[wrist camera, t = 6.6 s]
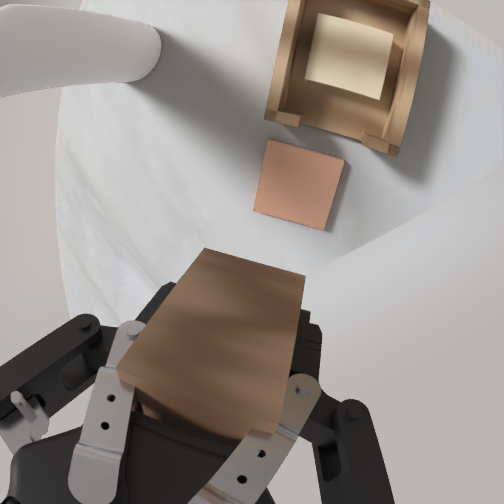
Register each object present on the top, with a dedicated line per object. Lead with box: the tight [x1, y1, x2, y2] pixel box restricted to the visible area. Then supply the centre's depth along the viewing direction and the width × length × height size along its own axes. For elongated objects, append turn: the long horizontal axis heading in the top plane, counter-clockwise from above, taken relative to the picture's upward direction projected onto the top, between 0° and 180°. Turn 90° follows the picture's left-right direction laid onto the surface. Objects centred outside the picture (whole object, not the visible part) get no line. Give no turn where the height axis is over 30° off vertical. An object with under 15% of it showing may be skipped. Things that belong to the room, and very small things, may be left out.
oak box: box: [264, 0, 430, 157], centre depth 21 cm, size 16×12×5 cm
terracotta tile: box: [253, 139, 344, 230], centre depth 31 cm, size 8×8×1 cm
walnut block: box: [116, 248, 306, 448], centre depth 11 cm, size 4×4×7 cm
